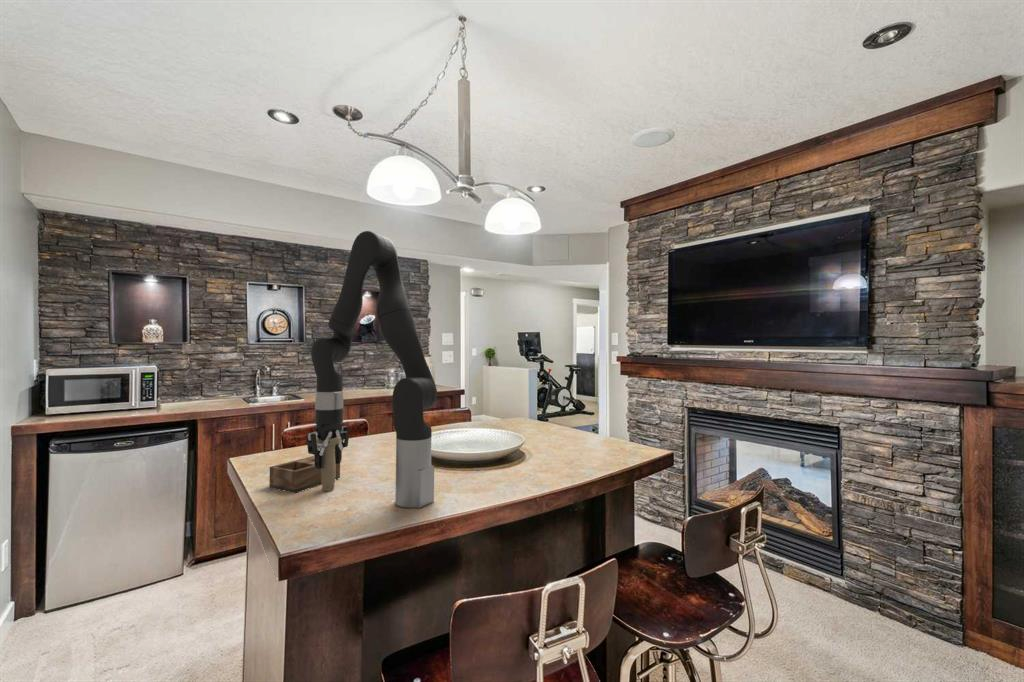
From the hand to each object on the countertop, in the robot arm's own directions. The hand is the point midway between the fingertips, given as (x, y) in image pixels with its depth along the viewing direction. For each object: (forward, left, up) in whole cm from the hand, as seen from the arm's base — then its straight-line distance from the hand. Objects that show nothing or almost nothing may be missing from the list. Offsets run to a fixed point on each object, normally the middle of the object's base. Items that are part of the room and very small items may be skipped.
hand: (328, 465), depth 129 cm
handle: (0, 0, -7) cm, 7 cm away
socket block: (+11, -2, -7) cm, 14 cm away
